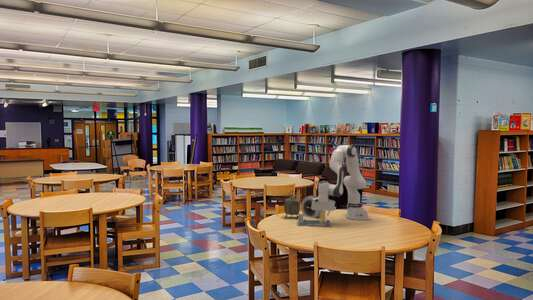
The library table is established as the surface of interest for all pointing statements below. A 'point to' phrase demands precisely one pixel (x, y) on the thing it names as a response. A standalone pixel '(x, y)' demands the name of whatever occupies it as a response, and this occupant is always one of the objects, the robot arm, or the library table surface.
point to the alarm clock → (309, 207)
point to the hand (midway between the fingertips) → (322, 215)
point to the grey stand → (322, 218)
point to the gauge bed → (309, 223)
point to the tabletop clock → (292, 205)
